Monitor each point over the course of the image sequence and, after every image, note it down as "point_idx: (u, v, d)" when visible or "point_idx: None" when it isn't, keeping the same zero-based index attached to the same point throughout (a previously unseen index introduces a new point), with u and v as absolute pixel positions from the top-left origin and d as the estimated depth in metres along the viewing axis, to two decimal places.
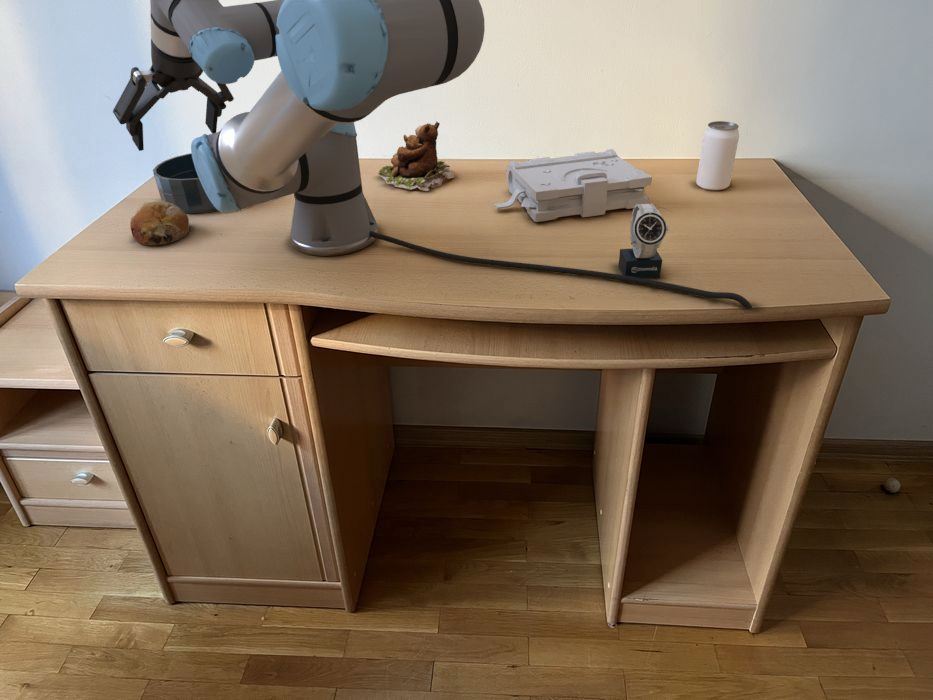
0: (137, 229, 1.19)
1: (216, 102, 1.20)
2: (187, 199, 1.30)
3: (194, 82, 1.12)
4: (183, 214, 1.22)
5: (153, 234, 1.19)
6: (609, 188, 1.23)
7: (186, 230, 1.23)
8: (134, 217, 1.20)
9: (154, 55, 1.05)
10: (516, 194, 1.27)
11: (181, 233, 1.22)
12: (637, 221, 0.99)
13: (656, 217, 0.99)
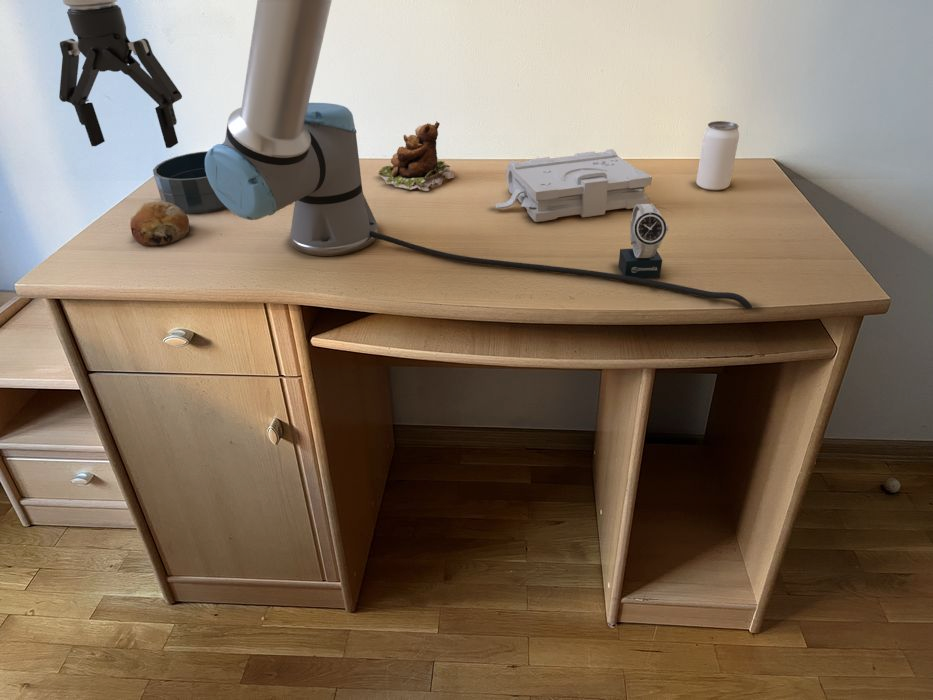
0: (137, 229, 1.19)
1: (155, 99, 1.08)
2: (187, 199, 1.30)
3: (113, 57, 1.05)
4: (183, 214, 1.22)
5: (153, 234, 1.19)
6: (609, 188, 1.23)
7: (186, 230, 1.23)
8: (134, 217, 1.20)
9: None
10: (516, 194, 1.27)
11: (181, 233, 1.22)
12: (637, 221, 0.99)
13: (656, 217, 0.99)
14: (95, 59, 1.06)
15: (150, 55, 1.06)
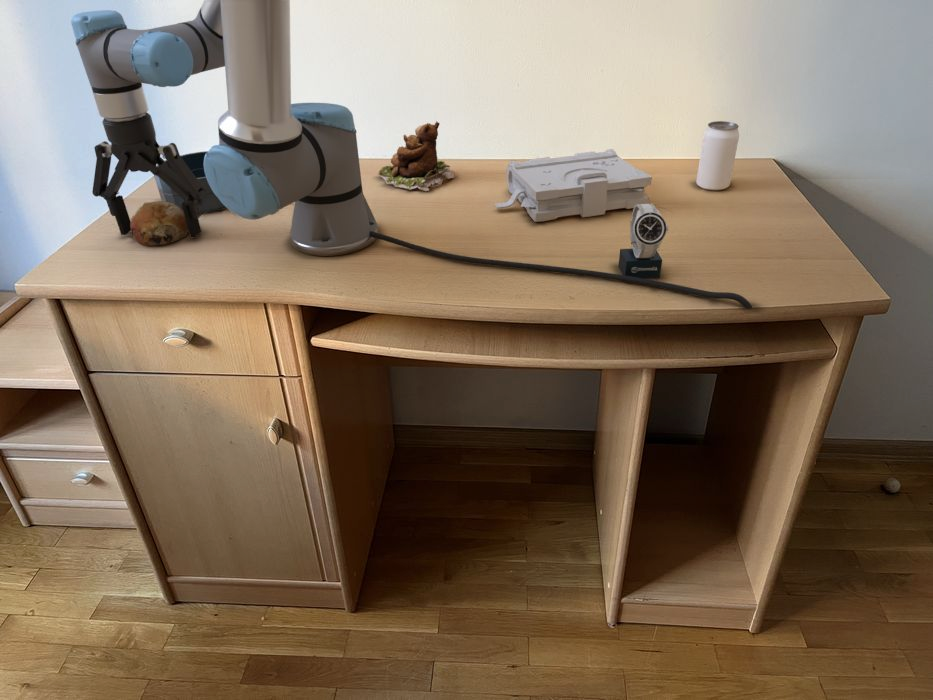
0: (137, 229, 1.19)
1: (181, 196, 1.17)
2: None
3: (144, 161, 1.14)
4: (183, 214, 1.22)
5: (153, 234, 1.19)
6: (609, 188, 1.23)
7: (186, 230, 1.23)
8: (134, 217, 1.20)
9: None
10: (516, 194, 1.27)
11: (181, 233, 1.22)
12: (637, 221, 0.99)
13: (656, 217, 0.99)
14: (127, 161, 1.15)
15: (178, 158, 1.15)
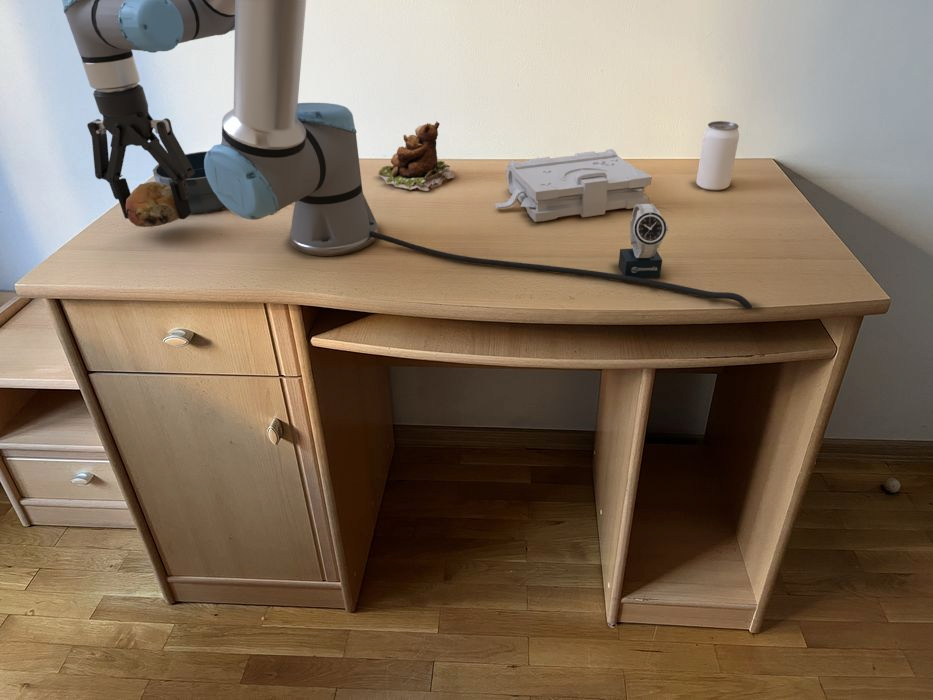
0: (132, 210, 1.17)
1: (170, 175, 1.15)
2: (187, 199, 1.30)
3: (137, 133, 1.11)
4: None
5: (148, 215, 1.16)
6: (609, 188, 1.23)
7: None
8: (129, 198, 1.18)
9: None
10: (516, 194, 1.27)
11: (177, 214, 1.19)
12: (637, 221, 0.99)
13: (656, 217, 0.99)
14: (119, 135, 1.12)
15: (170, 134, 1.13)
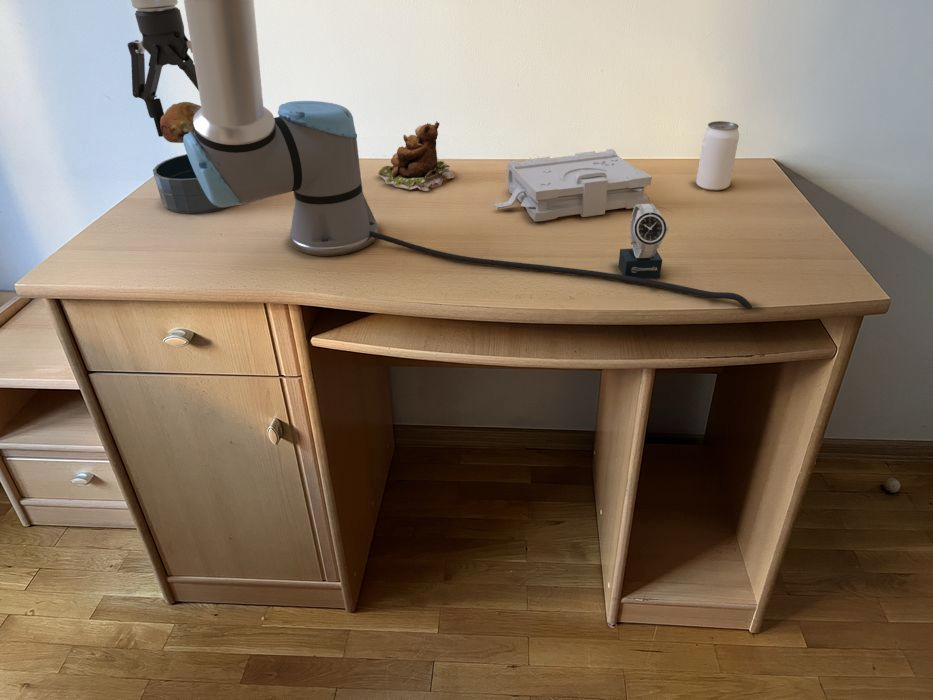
0: (166, 126, 1.26)
1: None
2: (187, 199, 1.30)
3: (173, 52, 1.21)
4: None
5: (182, 131, 1.26)
6: (609, 188, 1.23)
7: None
8: (164, 116, 1.27)
9: None
10: (516, 194, 1.27)
11: None
12: (637, 221, 0.99)
13: (656, 217, 0.99)
14: (157, 54, 1.22)
15: None
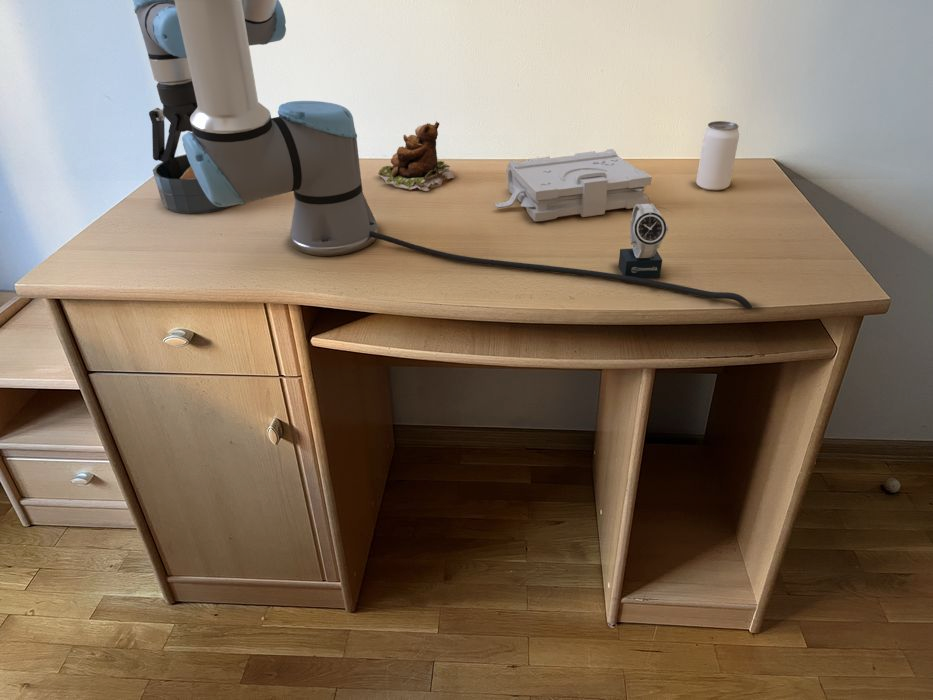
0: None
1: None
2: (187, 199, 1.30)
3: None
4: None
5: None
6: (609, 188, 1.23)
7: None
8: (182, 177, 1.35)
9: None
10: (516, 194, 1.27)
11: None
12: (637, 221, 0.99)
13: (656, 217, 0.99)
14: (177, 122, 1.29)
15: None
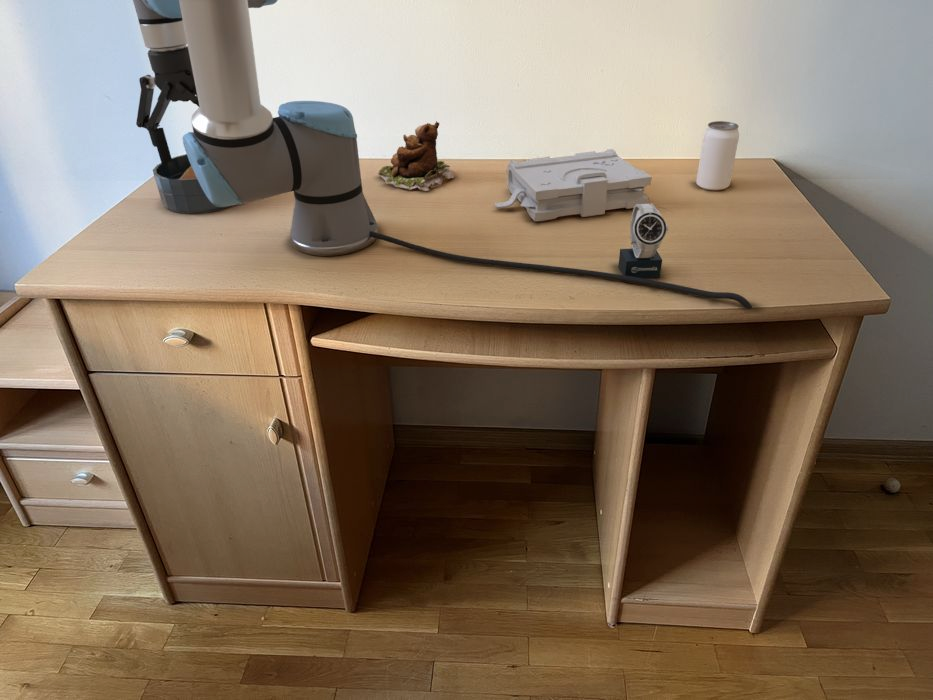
0: None
1: None
2: (187, 199, 1.30)
3: (184, 90, 1.25)
4: None
5: None
6: (609, 188, 1.23)
7: None
8: (182, 177, 1.35)
9: None
10: (516, 194, 1.27)
11: None
12: (637, 221, 0.99)
13: (656, 217, 0.99)
14: (169, 91, 1.26)
15: None
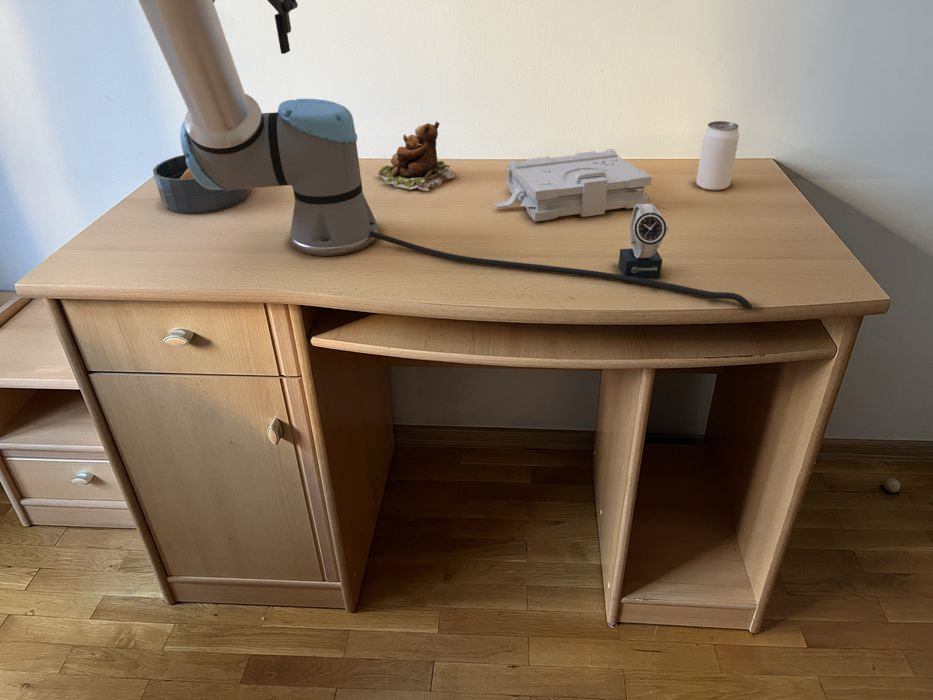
0: None
1: (275, 7, 1.21)
2: (187, 199, 1.30)
3: None
4: None
5: None
6: (609, 188, 1.23)
7: None
8: (182, 177, 1.35)
9: None
10: (516, 193, 1.27)
11: None
12: (637, 221, 0.99)
13: (656, 217, 0.99)
14: None
15: None
